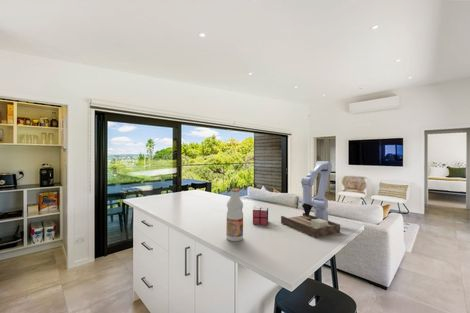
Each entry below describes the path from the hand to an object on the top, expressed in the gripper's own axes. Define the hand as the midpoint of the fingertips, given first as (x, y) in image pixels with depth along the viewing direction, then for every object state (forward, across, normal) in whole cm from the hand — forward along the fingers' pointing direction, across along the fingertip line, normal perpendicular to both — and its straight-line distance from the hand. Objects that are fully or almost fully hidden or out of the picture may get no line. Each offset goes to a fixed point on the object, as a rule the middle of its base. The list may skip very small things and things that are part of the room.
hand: (307, 215), depth 148 cm
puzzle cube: (+8, -21, -23) cm, 32 cm away
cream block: (+5, +10, 0) cm, 11 cm away
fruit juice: (+8, -2, -53) cm, 54 cm away
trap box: (+8, +1, 0) cm, 8 cm away
